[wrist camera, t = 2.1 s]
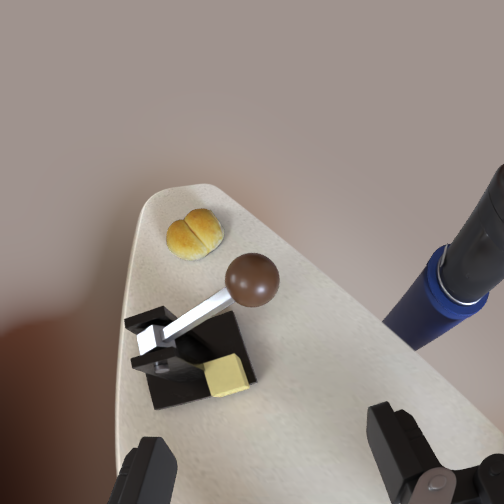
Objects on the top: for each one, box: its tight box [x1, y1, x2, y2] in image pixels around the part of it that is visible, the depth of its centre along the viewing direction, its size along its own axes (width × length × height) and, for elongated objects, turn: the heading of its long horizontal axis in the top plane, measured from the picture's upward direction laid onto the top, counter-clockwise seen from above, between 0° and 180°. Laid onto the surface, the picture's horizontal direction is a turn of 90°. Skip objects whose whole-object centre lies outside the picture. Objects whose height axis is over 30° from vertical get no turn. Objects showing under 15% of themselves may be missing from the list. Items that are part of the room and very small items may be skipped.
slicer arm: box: [137, 253, 280, 356], centre depth 24 cm, size 15×4×4 cm, turn 109°
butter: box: [203, 354, 250, 397], centre depth 32 cm, size 4×4×4 cm
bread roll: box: [167, 209, 224, 261], centre depth 45 cm, size 8×9×4 cm
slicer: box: [124, 306, 258, 410], centre depth 30 cm, size 14×10×14 cm
